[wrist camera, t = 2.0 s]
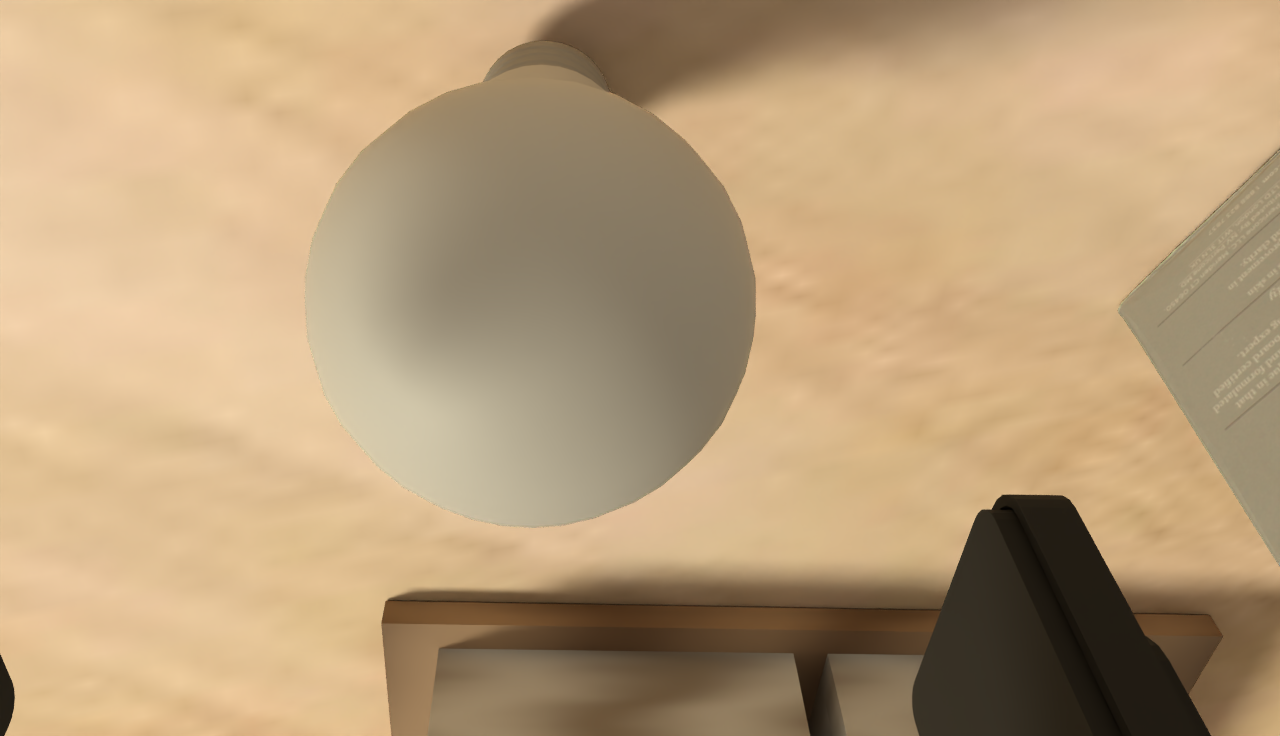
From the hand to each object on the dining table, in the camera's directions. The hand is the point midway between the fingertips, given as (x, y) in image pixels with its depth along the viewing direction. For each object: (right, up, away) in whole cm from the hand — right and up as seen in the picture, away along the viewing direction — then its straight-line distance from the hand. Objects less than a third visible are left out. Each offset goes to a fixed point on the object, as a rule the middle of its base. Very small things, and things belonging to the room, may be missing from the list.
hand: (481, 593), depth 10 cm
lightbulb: (0, +8, +11) cm, 14 cm away
